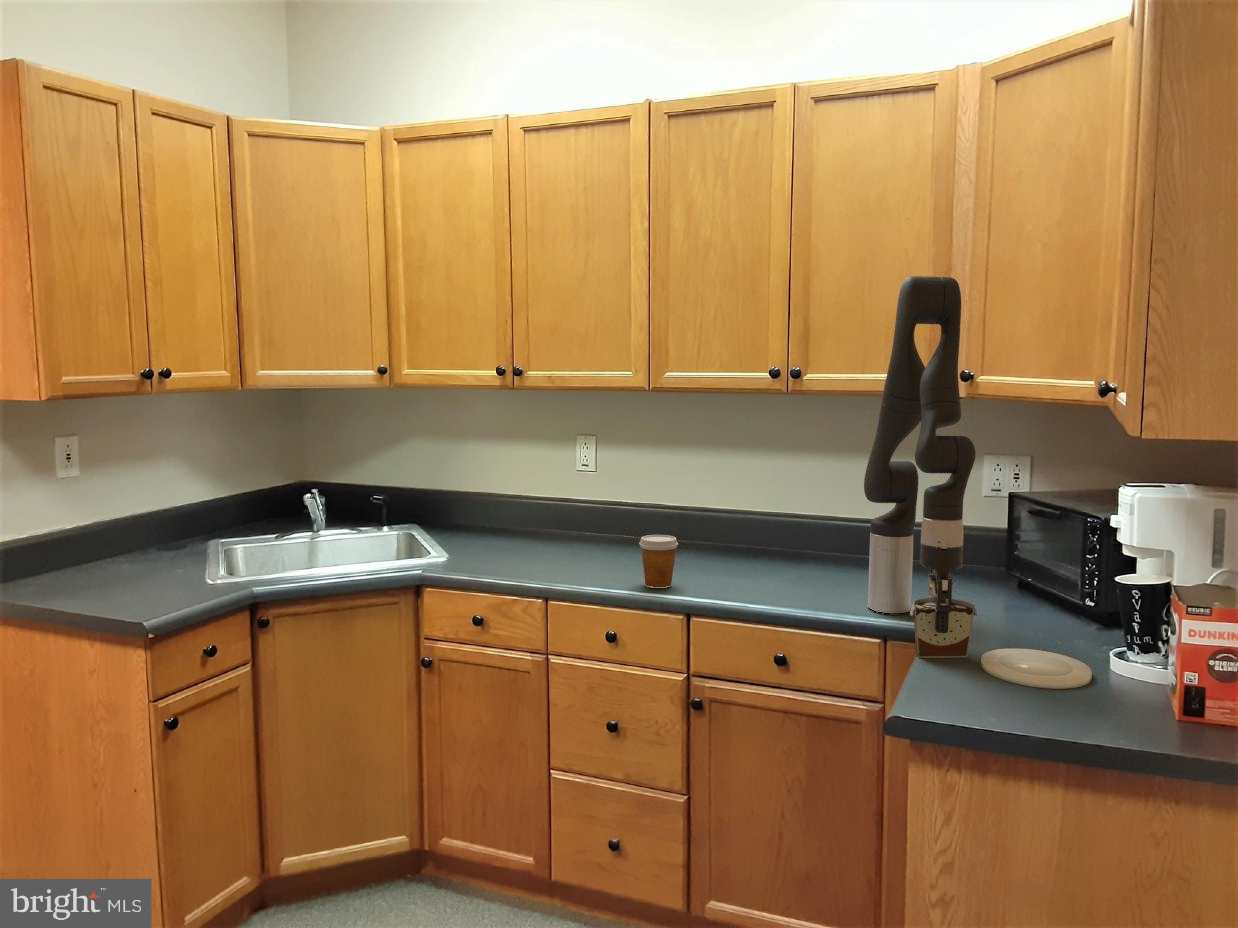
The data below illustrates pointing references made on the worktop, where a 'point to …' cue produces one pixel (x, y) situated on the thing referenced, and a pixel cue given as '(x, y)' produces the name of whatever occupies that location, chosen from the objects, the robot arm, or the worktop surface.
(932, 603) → the food container
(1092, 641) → the worktop surface
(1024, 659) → the plate
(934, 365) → the robot arm
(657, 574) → the disposable coffee cup
